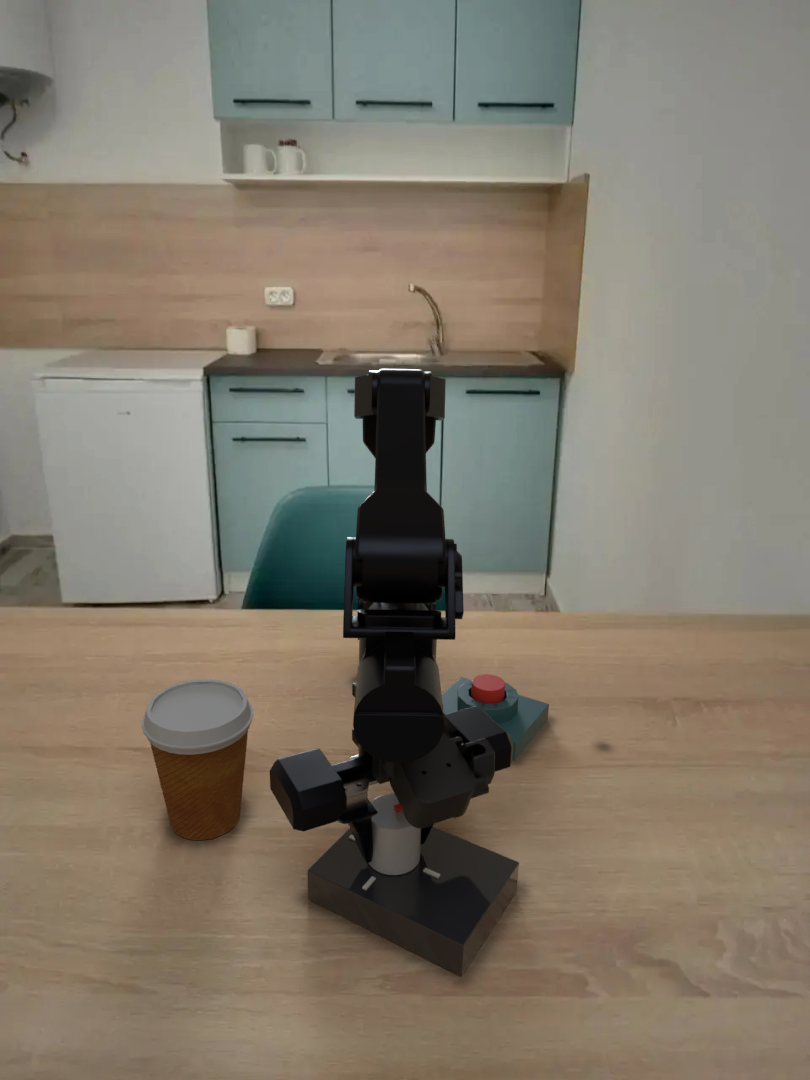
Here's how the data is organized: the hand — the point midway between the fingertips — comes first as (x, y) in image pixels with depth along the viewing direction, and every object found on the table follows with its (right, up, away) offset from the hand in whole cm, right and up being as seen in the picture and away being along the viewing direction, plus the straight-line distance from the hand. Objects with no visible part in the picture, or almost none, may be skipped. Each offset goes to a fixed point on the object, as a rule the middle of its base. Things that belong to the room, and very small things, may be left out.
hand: (393, 850), depth 68 cm
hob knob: (0, -1, 0) cm, 1 cm away
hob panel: (+2, -4, 0) cm, 4 cm away
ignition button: (+10, +8, +23) cm, 26 cm away
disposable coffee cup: (-17, 0, +9) cm, 19 cm away
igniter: (+10, +5, +24) cm, 27 cm away
